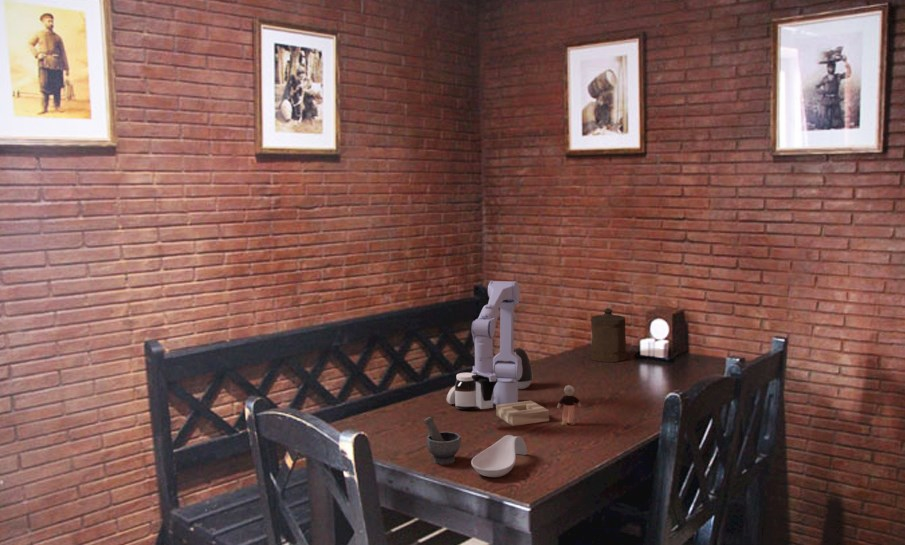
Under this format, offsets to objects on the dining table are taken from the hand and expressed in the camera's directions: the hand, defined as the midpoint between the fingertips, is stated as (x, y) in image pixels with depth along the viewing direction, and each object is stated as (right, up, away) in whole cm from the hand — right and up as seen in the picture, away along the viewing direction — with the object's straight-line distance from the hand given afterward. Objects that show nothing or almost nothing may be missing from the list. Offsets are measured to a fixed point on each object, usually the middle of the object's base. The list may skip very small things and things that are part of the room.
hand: (484, 398), depth 256 cm
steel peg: (0, -3, 0) cm, 3 cm away
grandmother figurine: (+27, -9, +3) cm, 29 cm away
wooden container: (+58, +2, +95) cm, 111 cm away
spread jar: (-7, -7, +25) cm, 27 cm away
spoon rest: (+4, -14, -34) cm, 37 cm away
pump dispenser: (+15, -4, +49) cm, 52 cm away
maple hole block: (+13, -8, +10) cm, 18 cm away
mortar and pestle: (-13, -13, -28) cm, 34 cm away
